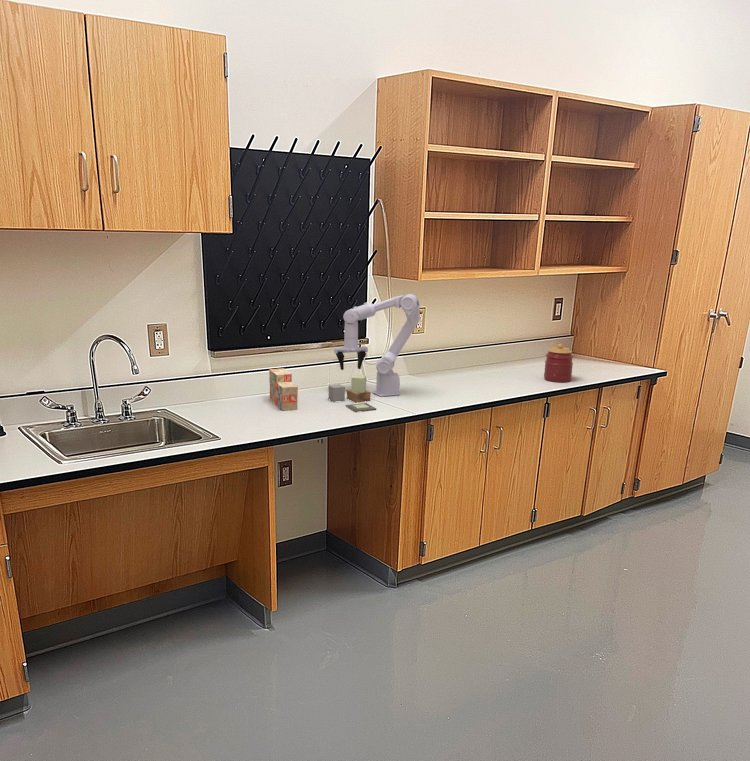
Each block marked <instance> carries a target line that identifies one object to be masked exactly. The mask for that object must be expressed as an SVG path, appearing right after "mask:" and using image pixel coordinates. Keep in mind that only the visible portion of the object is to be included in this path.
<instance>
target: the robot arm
mask: <svg viewBox="0 0 750 761" xmlns="http://www.w3.org/2000/svg"><path fill="white" fill-rule="evenodd" d="M420 305H421V304H420V301H419V299H418V296H417V295H416V294H415V293H407V294H402V295H397V296H393V297H391V298H389V299H388V298H387V299H386V300H383V301H380V302H378V303H375V304H374V303H372V302H364V303H363V304H362V305H359V306H353V308H350V309H348V310H345V312H344V313H343V320H344V331H343V332H344V340H343V342H344V344H343V346H342V347H334V348H333V353H334V354H335V355H336V357H337V359H338V364H339V368H340V370H341V371H344V368H345V367H344V362H345V354H346V353H347V354H348V353H356V354H357V369H358V370H361V368H362V365H363V362H364V360H365V357H366V356H367V353H368V351H369V348H368V347H367V346H359V343H358V342H359V321H362V320H366V319H369V318H371V317H374V316H375V315H376V313H377V312H379V311H384V310H386V309H390V308H393V307H394V308H397V309H400V308H401V310H402V311H403V312H404V313H405V316H406V321H405V323H404V325H403V326H402V327H401V329H400V331H399V332H398V334H397V336H396V337H395V338H394V340H393V342H392V344H391V345H390V347H389V349H388V350H387V351H386V353H385V354H384V356H383V357H382V358H380V360H378V361H377V362H376V366H375V367H376V388H375V389H376V390H373V391H372V393H373V394H374V395H377V396H379V397H389V396H398V395H401V393H400V382H401V379H400V376H399V374H398V373H397V372H395V371H394V370H393V368H394V366H395V362H396V359H397V358H398V356H399V354H400V352H401V351H402V350H403V348H404V346H405V345H406V344H407V342H408V340H409V338H410V337H411V335H412V333H413V332H414V331H415V329H416V327H417V326H418V324H419V322H420V320H421V319H420V317H421V315H420ZM344 353H345V354H344Z"/></svg>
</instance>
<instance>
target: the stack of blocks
mask: <svg viewBox="0 0 750 761" xmlns="http://www.w3.org/2000/svg"><path fill="white" fill-rule="evenodd" d="M268 374H269V375H268V376H269V378H268V380H269V381H268V382H269V399H270V400H271V399H272V400H271V401H272V403H274V404H275V405H276V406H277V405H278V406H277V407H278V408H279V409H280V410H281V411H292V410H295V409H297V410H298V400H299V399H298V398H299V395H298V393H299V389H298V387H299V386H298V385H296V384H295V382H293V381H292V380H293V379H292V377H293V376H292V373H291V372H289V371H288V370H287V369H285V368H272V369H271V368H270V369H268ZM295 411H296V410H295Z"/></svg>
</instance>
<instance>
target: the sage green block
mask: <svg viewBox="0 0 750 761" xmlns="http://www.w3.org/2000/svg"><path fill="white" fill-rule="evenodd" d="M350 379H351V386H350V387H351V388H350V390H351V392H357V393H364V392H365V391H366V390H367V375H359V374H354V375H352V376H351V377H350Z"/></svg>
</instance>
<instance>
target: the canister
mask: <svg viewBox="0 0 750 761" xmlns="http://www.w3.org/2000/svg"><path fill="white" fill-rule="evenodd" d="M547 351H548V352H547V353H545V357H546V358H545V360H544V373H543V378H544V379H543V380H545V381H548V382H554V383H569V382H571V381H572V378H573V365H574V363H573V359H574V355H573V354H572V353H573V350H571V348H568V347H565V346H564V344H563V343H558V344H557V346H552V347H549V348H548V349H547Z"/></svg>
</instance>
